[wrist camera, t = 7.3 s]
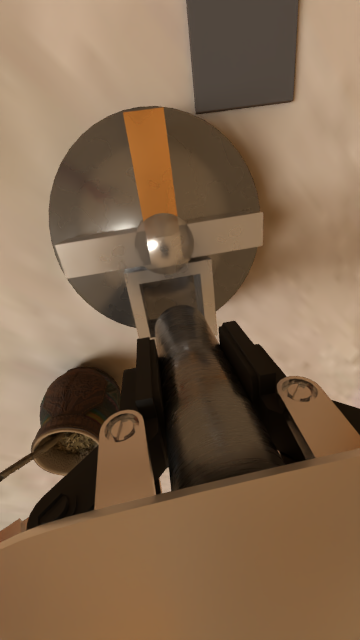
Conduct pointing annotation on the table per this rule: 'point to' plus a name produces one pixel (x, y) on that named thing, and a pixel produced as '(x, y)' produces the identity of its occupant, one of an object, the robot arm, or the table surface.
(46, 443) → the mate gourd
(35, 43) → the table surface
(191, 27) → the mat
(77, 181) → the chuck base
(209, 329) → the grey pestle
